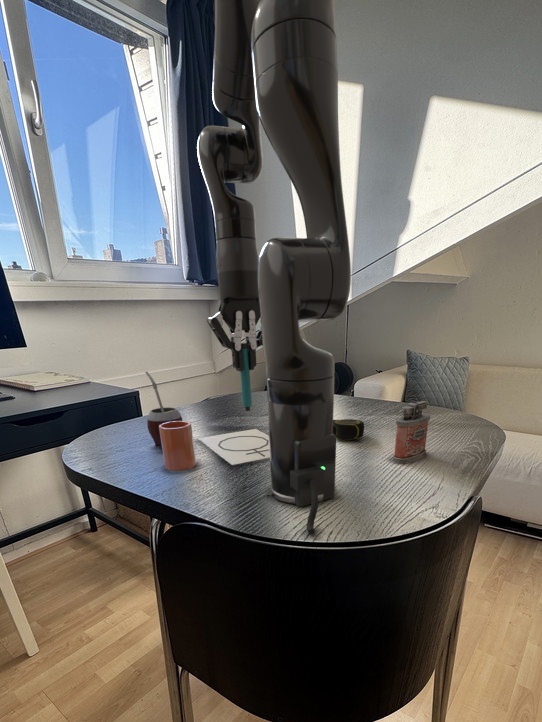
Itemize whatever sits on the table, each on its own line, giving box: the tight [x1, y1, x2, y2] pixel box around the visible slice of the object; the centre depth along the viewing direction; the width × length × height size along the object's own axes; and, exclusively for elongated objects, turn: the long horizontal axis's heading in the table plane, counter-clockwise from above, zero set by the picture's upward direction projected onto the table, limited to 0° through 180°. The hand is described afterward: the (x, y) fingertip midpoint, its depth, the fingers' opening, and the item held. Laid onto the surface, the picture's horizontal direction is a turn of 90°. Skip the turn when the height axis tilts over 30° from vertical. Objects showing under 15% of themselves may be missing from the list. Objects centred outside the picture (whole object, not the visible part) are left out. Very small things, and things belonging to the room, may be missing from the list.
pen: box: [239, 342, 253, 412], centre depth 81 cm, size 2×2×13 cm
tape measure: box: [333, 418, 365, 441], centre depth 87 cm, size 7×7×4 cm
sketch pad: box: [197, 428, 270, 466], centre depth 85 cm, size 20×14×1 cm
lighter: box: [392, 400, 431, 464], centre depth 74 cm, size 8×3×10 cm, turn 129°
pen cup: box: [159, 420, 197, 472], centre depth 73 cm, size 5×5×8 cm
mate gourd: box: [145, 371, 184, 452], centre depth 83 cm, size 8×8×15 cm
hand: (245, 369), depth 81 cm, fingers closed on pen, 2 cm apart
